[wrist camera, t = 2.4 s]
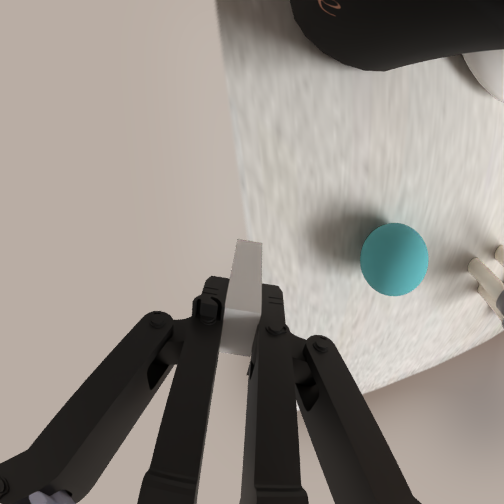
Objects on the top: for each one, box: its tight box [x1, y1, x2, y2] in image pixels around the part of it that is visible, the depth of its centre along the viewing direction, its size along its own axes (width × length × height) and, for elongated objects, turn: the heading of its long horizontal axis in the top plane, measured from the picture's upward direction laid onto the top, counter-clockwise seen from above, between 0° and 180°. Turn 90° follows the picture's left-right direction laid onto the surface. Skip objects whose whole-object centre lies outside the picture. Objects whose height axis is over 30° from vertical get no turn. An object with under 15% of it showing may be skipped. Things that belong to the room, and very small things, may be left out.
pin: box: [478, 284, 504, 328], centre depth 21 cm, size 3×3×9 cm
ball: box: [360, 223, 428, 296], centre depth 20 cm, size 6×6×6 cm
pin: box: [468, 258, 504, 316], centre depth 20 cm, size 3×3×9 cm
